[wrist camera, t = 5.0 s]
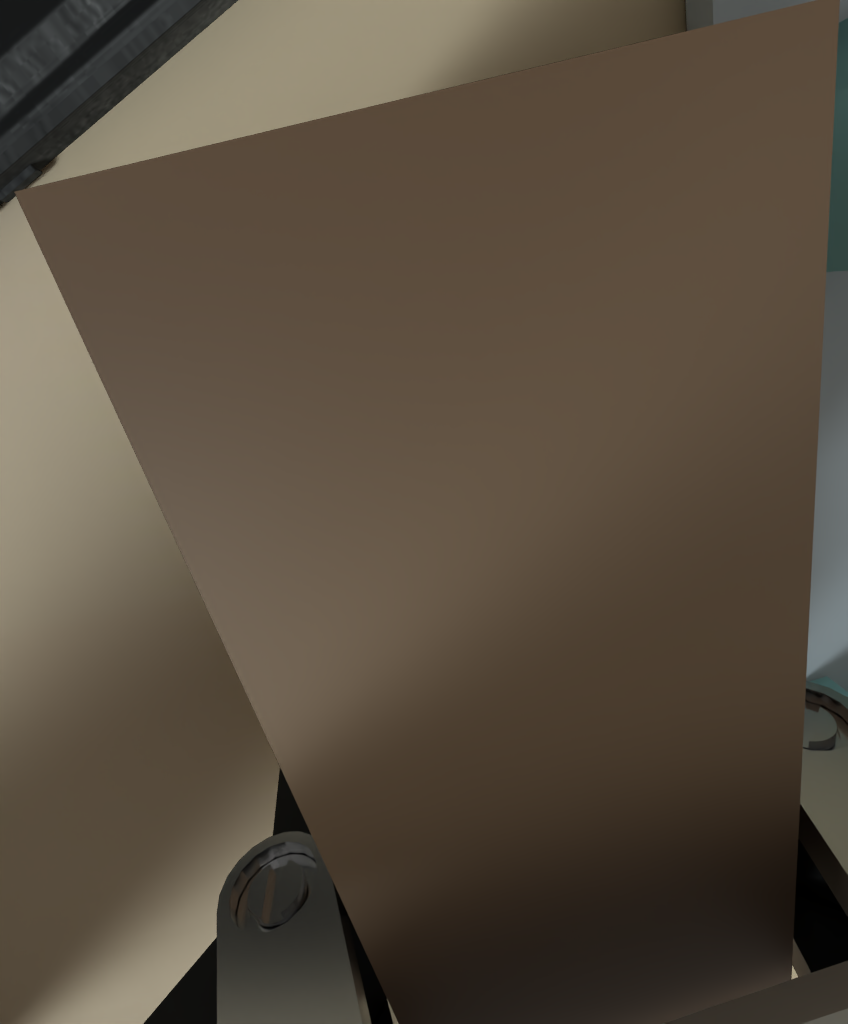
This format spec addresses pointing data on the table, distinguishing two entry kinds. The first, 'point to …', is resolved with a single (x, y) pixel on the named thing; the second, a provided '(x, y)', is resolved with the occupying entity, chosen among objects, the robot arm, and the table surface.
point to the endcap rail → (822, 378)
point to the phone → (79, 68)
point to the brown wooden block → (505, 496)
